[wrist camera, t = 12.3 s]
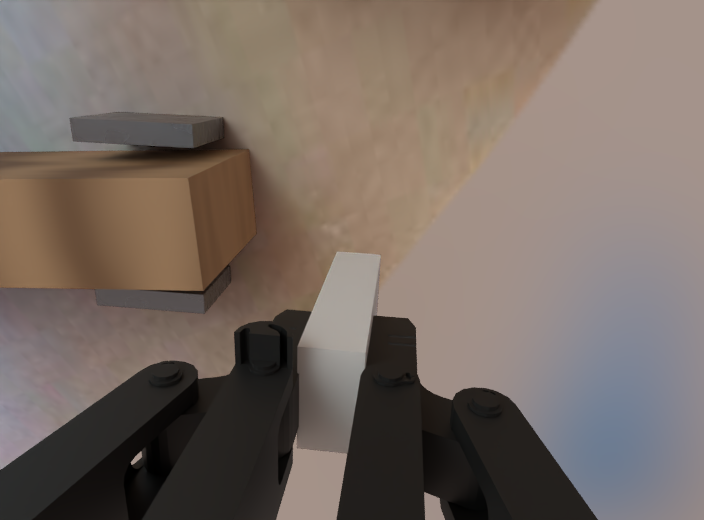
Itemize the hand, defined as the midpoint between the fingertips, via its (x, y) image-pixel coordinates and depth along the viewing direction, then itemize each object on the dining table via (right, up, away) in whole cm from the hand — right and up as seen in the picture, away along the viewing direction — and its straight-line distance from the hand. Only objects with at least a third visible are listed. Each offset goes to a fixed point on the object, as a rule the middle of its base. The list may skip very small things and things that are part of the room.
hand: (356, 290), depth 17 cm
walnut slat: (-16, +5, +10) cm, 20 cm away
